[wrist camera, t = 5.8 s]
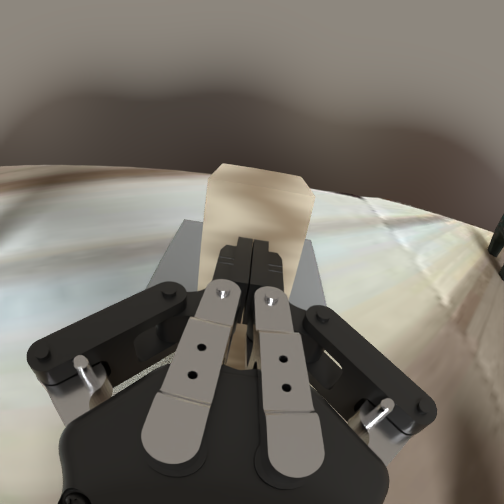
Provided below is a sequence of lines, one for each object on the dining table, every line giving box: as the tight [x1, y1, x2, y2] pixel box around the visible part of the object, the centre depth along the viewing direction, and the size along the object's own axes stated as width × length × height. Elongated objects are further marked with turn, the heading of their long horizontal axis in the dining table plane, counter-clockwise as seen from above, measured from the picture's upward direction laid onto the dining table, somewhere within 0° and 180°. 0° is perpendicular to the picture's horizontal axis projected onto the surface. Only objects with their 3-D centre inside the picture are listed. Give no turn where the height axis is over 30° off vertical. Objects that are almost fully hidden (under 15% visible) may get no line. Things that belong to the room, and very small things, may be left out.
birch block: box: [197, 164, 315, 370], centre depth 18 cm, size 5×5×14 cm
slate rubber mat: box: [145, 219, 327, 311], centre depth 32 cm, size 18×18×1 cm
